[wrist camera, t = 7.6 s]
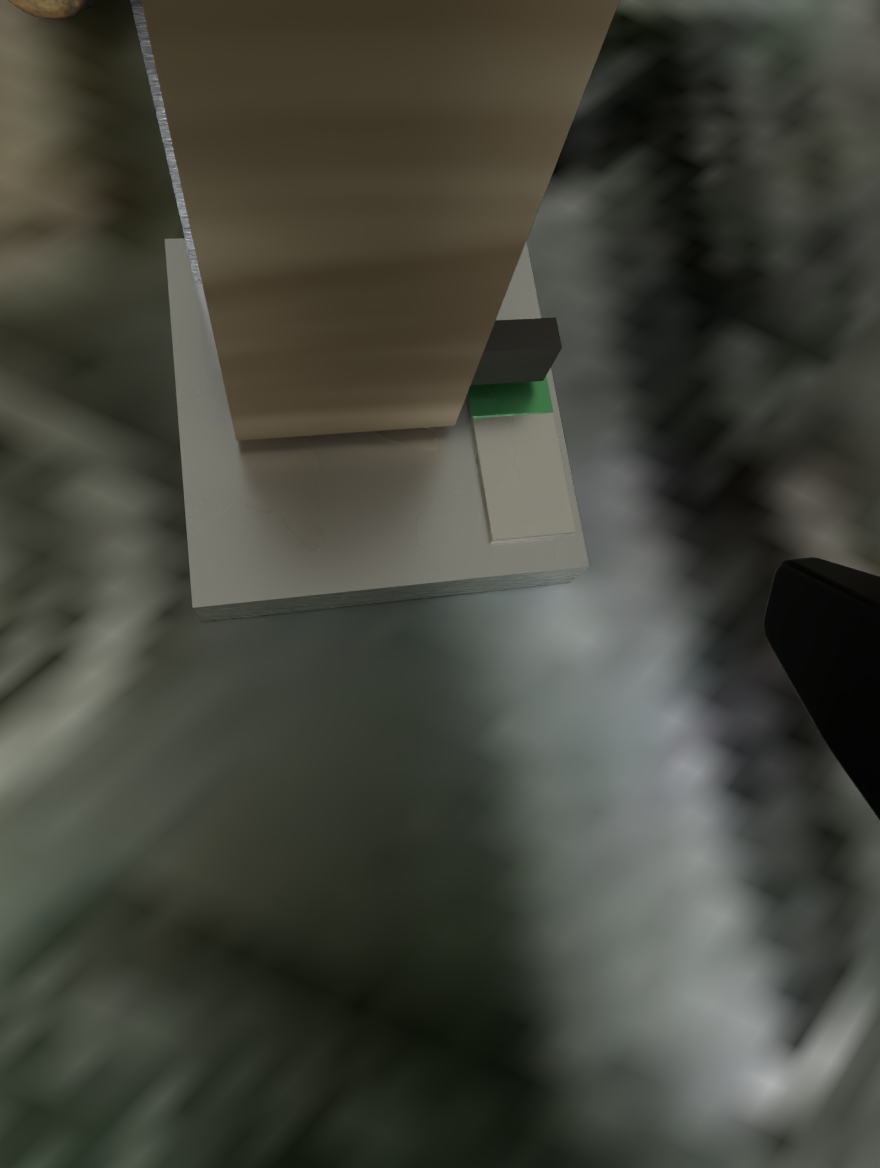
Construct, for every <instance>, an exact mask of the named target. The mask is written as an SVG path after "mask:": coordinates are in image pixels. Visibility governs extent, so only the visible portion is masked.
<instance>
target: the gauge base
mask: <svg viewBox="0 0 880 1168" xmlns="http://www.w3.org/2000/svg"><path fill="white" fill-rule="evenodd" d="M130 1H131V6H132V10H133V14H134V19H135V23H136V27H137V32H138V36H139V40H140V45H141V49H142V54H143V58H144V62H145V67H146V71H147V75H148V80H149V84H150V88H151V93H152V97H153V101H154V106H155V110H156V114H157V119H158V123H159V128H160V132H161V136H162V141H163V145H164V149H165V154H166V158H167V162H168V167H169V171H170V175H171V180H172V184H173V188H174V193H175V197H176V202H177V206H178V210H179V215H180V219H181V223H182V228H183V232H184V236H185V238H181V239H165V251H166V264H167V277H168V290H169V304H170V317H171V330H172V343H173V356H174V370H175V383H176V396H177V409H178V423H179V436H180V449H181V462H182V475H183V489H184V502H185V515H186V528H187V542H188V555H189V568H190V581H191V595H192V608H193V609H194V611H195V612H196V614H197V615H198V617H199V619H200V620H201V622H206V621H215V620H224V619H234V618H243V617H252V616H262V615H271V614H280V613H289V612H299V611H308V610H317V609H327V608H336V607H345V606H355V605H364V604H373V603H382V602H392V601H401V600H410V599H420V598H429V597H438V596H448V595H457V594H466V593H475V592H485V591H494V590H503V589H513V588H522V587H531V586H541V585H550V584H559V583H568V582H571V581H572V580H573V579H574V578H576V577H577V576H578V575H579V574H581V573H582V572H583V571H584V570H585V569H587V568H588V567H589V563H588V558H587V552H586V547H585V542H584V537H583V532H582V526H581V521H580V516H579V511H578V506H577V500H576V495H575V490H574V485H573V480H572V475H571V469H570V464H569V459H568V454H567V449H566V443H565V438H564V433H563V428H562V423H561V417H560V412H559V407H558V402H557V397H556V392H555V386H554V381H553V376H552V371H551V368H550V370H549V371H548V373H547V375H546V377H545V379H544V380H543V381H534V382H517V383H500V384H483V385H470V388H469V390H468V393H467V396H466V398H465V401H464V403H463V406H462V408H461V411H460V414H459V416H458V419H457V421H456V424H455V426H441V427H426V428H411V429H397V430H382V431H368V432H353V433H339V434H324V435H310V436H295V437H280V438H266V439H251V440H237V441H236V437H235V433H234V428H233V424H232V419H231V414H230V410H229V405H228V400H227V396H226V391H225V387H224V382H223V377H222V373H221V368H220V363H219V359H218V354H217V349H216V345H215V340H214V336H213V331H212V326H211V322H210V317H209V312H208V308H207V303H206V299H205V294H204V289H203V285H202V280H201V275H200V271H199V266H198V262H197V257H196V252H195V248H194V243H193V238H192V234H191V229H190V225H189V220H188V215H187V211H186V206H185V201H184V197H183V192H182V188H181V183H180V178H179V174H178V169H177V164H176V160H175V155H174V151H173V146H172V141H171V137H170V132H169V127H168V123H167V118H166V114H165V109H164V104H163V100H162V95H161V90H160V86H159V81H158V76H157V72H156V67H155V63H154V58H153V53H152V49H151V44H150V39H149V35H148V30H147V26H146V21H145V16H144V12H143V7H142V2H141V0H130ZM536 318H541V314H540V309H539V303H538V298H537V293H536V288H535V283H534V277H533V272H532V267H531V262H530V257H529V251H528V246H527V241H526V243H525V246H524V248H523V251H522V253H521V256H520V259H519V261H518V264H517V266H516V269H515V271H514V274H513V277H512V279H511V282H510V284H509V287H508V290H507V292H506V295H505V297H504V300H503V302H502V305H501V308H500V310H499V313H498V315H497V318H496V320H513V319H536Z"/></svg>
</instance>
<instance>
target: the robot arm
mask: <svg viewBox="0 0 880 1168" xmlns="http://www.w3.org/2000/svg"><path fill="white" fill-rule="evenodd" d="M763 627H764V633H765V636H766V639H767V641H768V643H769V645H770V646H771V648H772V650H773V652H774V654H775V655H776V657H777V659H778V661H779V662H780V664H781V666H782V668H783V670H784V671H785V673H786V675H787V677H788V679H789V680H790V682H791V684H792V686H793V687H794V689H795V691H796V693H797V695H798V696H799V698H800V700H801V702H802V704H803V705H804V707H805V709H806V711H807V713H808V714H809V716H810V718H811V720H812V721H813V723H814V725H815V726H816V728H817V730H818V732H819V733H820V735H821V737H822V738H823V740H824V741H825V743H826V744H827V746H828V747H829V749H830V750H831V752H832V753H833V755H834V756H835V758H836V759H837V760H838V762H839V763H840V765H841V766H842V767H843V769H844V770H845V772H846V773H847V775H848V776H849V777H850V779H851V780H852V782H853V783H854V785H855V786H856V787H857V789H858V790H859V792H860V793H861V794H862V796H863V797H864V799H865V800H866V802H867V803H868V804H869V806H870V807H871V809H872V810H873V811H874V813H875V814H876V816H877V817H878V819H879V820H880V577H879V576H876V575H872V574H869V573H866V572H862V571H859V570H856V569H852V568H849V567H846V566H842V565H839V564H836V563H832V562H829V561H826V560H822V559H819V558H802V559H793V560H786V561H784V562H782V563H781V564H780V565H779V566H778V567H777V569H776V571H775V573H774V577H773V581H772V585H771V590H770V594H769V598H768V602H767V606H766V610H765V614H764V620H763Z"/></svg>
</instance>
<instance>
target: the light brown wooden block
mask: <svg viewBox="0 0 880 1168" xmlns="http://www.w3.org/2000/svg"><path fill="white" fill-rule="evenodd" d="M141 2H142V7H143V12H144V16H145V21H146V26H147V30H148V35H149V39H150V44H151V49H152V53H153V58H154V63H155V67H156V72H157V76H158V81H159V86H160V90H161V95H162V100H163V104H164V109H165V114H166V118H167V123H168V127H169V132H170V137H171V141H172V146H173V151H174V155H175V160H176V164H177V169H178V174H179V178H180V183H181V188H182V192H183V197H184V201H185V206H186V211H187V215H188V220H189V225H190V229H191V234H192V238H193V243H194V248H195V252H196V257H197V262H198V266H199V271H200V275H201V280H202V285H203V289H204V294H205V299H206V303H207V308H208V312H209V317H210V322H211V326H212V331H213V336H214V340H215V345H216V349H217V354H218V359H219V363H220V368H221V373H222V377H223V382H224V387H225V391H226V396H227V400H228V405H229V410H230V414H231V419H232V424H233V428H234V433H235V437H236V441H237V440H251V439H266V438H280V437H295V436H310V435H324V434H339V433H353V432H368V431H382V430H397V429H411V428H426V427H441V426H455V424H456V421H457V419H458V416H459V414H460V411H461V408H462V406H463V403H464V401H465V398H466V396H467V393H468V390H469V388H470V385H483V384H500V383H517V382H534V381H543V380H544V379H545V377H546V375H547V373H548V371H549V370H550V368H551V366H552V364H553V363H554V361H555V359H556V357H557V355H558V354H559V352H560V350H561V348H562V347H561V341H560V336H559V331H558V326H557V321H556V318H536V319H513V320H496V318H497V315H498V313H499V310H500V308H501V305H502V302H503V300H504V297H505V295H506V292H507V290H508V287H509V284H510V282H511V279H512V277H513V274H514V271H515V269H516V266H517V264H518V261H519V259H520V256H521V253H522V251H523V248H524V246H525V243H526V240H527V238H528V235H529V233H530V230H531V228H532V225H533V222H534V220H535V217H536V215H537V212H538V209H539V207H540V204H541V202H542V199H543V197H544V194H545V191H546V189H547V186H548V184H549V181H550V178H551V176H552V173H553V171H554V168H555V166H556V163H557V160H558V158H559V155H560V153H561V150H562V147H563V145H564V142H565V140H566V137H567V135H568V132H569V129H570V127H571V124H572V122H573V119H574V116H575V114H576V111H577V109H578V106H579V104H580V101H581V98H582V96H583V93H584V91H585V88H586V85H587V83H588V80H589V78H590V75H591V73H592V70H593V67H594V65H595V62H596V60H597V57H598V54H599V52H600V49H601V47H602V44H603V42H604V39H605V36H606V34H607V31H608V29H609V26H610V23H611V21H612V18H613V16H614V13H615V11H616V8H617V5H618V3H619V0H141Z"/></svg>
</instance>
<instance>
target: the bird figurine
mask: <svg viewBox="0 0 880 1168" xmlns="http://www.w3.org/2000/svg"><path fill="white" fill-rule="evenodd" d="M8 1H9V2H11V3H12V4H13V5H15V6H16V7H18V8H20V9H21V10H23V11H24V12H26V13H28V14H31V15H33V16H35V17H41V18H46V19H64V18H71V17H75V16H76V15H77V14H78V13H79V12H80V11H81V10H83V9H85V8H90V7H91V6H92V5H93V4H94V2H95V0H8Z"/></svg>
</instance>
